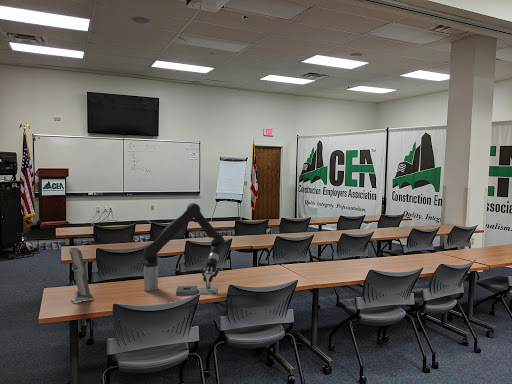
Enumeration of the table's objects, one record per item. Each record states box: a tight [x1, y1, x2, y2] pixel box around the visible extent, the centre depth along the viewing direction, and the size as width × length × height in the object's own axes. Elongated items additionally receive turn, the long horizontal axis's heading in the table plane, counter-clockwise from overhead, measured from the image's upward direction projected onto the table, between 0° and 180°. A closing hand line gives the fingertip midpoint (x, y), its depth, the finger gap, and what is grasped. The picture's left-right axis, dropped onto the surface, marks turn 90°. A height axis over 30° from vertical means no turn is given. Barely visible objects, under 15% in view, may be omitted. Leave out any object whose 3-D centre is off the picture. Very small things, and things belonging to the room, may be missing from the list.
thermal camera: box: [68, 247, 95, 301], centre depth 251 cm, size 12×13×35 cm
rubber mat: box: [199, 286, 218, 295], centre depth 269 cm, size 12×12×1 cm
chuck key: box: [205, 270, 212, 289], centre depth 268 cm, size 4×4×12 cm
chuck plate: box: [175, 285, 198, 296], centre depth 267 cm, size 14×12×2 cm
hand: (207, 281), depth 267 cm, fingers closed on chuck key, 3 cm apart
